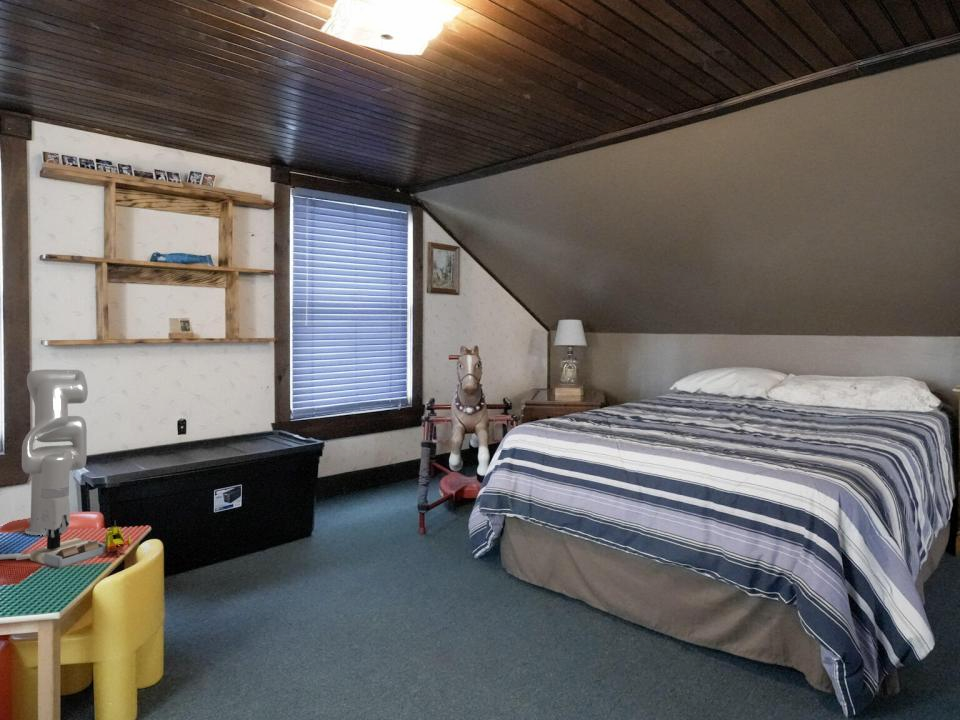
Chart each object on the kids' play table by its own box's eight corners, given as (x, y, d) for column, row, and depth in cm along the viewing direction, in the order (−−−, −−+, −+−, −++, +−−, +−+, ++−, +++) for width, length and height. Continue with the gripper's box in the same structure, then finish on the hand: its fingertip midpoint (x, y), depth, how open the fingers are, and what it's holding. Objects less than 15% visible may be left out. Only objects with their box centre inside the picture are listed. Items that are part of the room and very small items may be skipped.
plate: (30, 560, 197) (30, 550, 197) (76, 546, 211) (76, 537, 211) (44, 564, 194) (44, 554, 194) (90, 550, 208) (90, 541, 208)
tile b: (61, 549, 194) (64, 556, 193) (75, 545, 198) (78, 552, 197) (54, 555, 195) (56, 562, 195) (68, 551, 199) (71, 558, 199)
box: (44, 564, 194) (44, 553, 194) (90, 550, 208) (90, 540, 208) (59, 568, 191) (59, 557, 191) (104, 554, 205) (105, 543, 205)
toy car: (108, 559, 201) (109, 529, 200) (100, 543, 215) (100, 516, 214) (130, 556, 205) (131, 526, 205) (120, 540, 219) (121, 513, 218)
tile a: (83, 544, 200) (85, 551, 200) (97, 540, 204) (99, 547, 204) (75, 548, 202) (77, 555, 201) (88, 544, 206) (91, 551, 205)
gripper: (28, 491, 197) (26, 547, 198) (57, 498, 192) (56, 555, 192) (52, 487, 204) (50, 540, 205) (81, 493, 198) (80, 548, 199)
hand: (53, 548), depth 198 cm, fingers closed
